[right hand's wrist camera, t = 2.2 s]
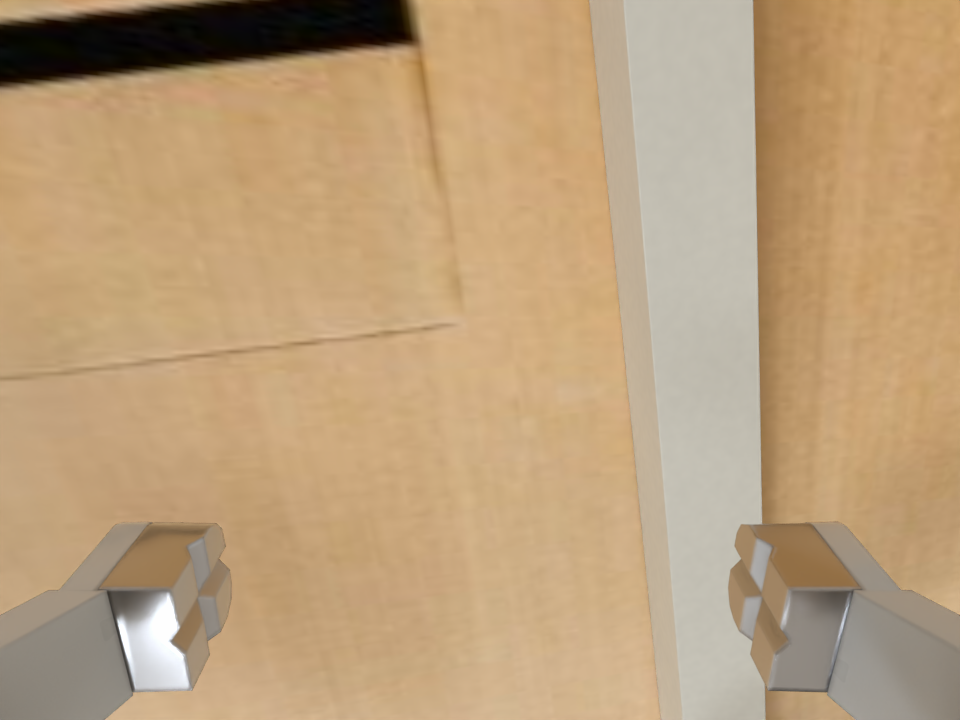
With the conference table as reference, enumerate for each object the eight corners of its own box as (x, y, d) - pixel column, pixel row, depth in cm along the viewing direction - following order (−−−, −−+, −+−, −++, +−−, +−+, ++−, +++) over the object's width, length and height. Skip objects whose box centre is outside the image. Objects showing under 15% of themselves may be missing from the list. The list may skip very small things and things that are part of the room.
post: (571, -168, 26) (603, -234, 21) (687, -191, 26) (749, -264, 21) (665, 772, 46) (694, 862, 41) (731, 762, 46) (768, 851, 41)
